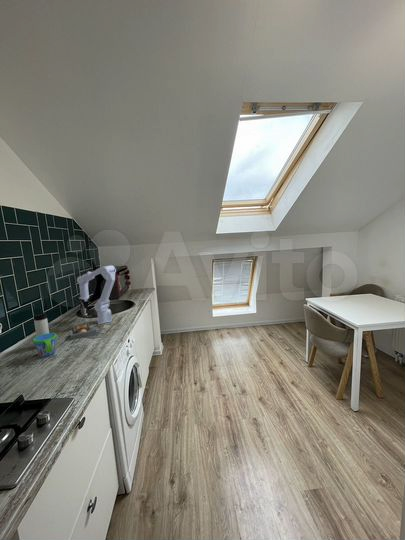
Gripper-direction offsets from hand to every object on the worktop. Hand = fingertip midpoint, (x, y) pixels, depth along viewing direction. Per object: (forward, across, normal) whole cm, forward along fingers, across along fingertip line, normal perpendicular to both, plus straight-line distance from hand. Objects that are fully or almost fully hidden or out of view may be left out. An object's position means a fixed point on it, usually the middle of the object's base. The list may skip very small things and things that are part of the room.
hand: (86, 308), depth 176 cm
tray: (+9, +30, -5) cm, 32 cm away
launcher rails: (+9, +18, -5) cm, 20 cm away
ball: (+7, +32, -5) cm, 33 cm away
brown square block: (+9, +23, -5) cm, 26 cm away
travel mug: (+10, +34, -26) cm, 44 cm away
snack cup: (+10, +48, -24) cm, 55 cm away
